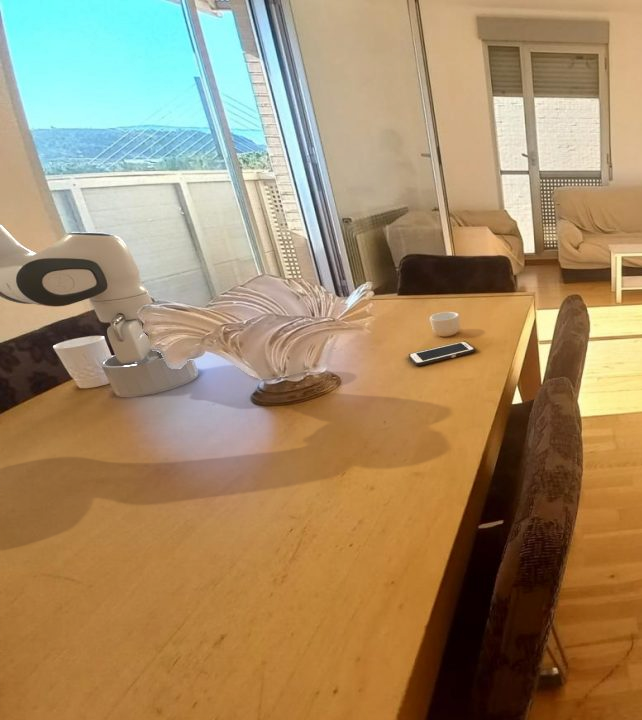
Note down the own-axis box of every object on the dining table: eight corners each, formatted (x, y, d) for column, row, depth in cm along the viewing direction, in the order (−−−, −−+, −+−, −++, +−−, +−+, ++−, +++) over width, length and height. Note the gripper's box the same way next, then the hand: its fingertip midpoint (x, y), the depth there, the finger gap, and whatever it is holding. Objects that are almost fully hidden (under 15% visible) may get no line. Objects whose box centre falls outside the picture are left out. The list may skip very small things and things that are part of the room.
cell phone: (408, 357, 117) (407, 354, 117) (465, 343, 125) (465, 340, 125) (416, 367, 112) (415, 363, 111) (476, 352, 120) (476, 348, 119)
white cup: (127, 379, 110) (108, 339, 106) (79, 393, 104) (57, 350, 100) (117, 372, 114) (98, 333, 110) (70, 385, 108) (48, 344, 104)
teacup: (465, 334, 133) (462, 316, 130) (437, 341, 129) (433, 322, 126) (454, 326, 140) (451, 308, 138) (427, 331, 136) (424, 313, 134)
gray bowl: (105, 403, 99) (90, 372, 96) (125, 379, 110) (111, 351, 107) (193, 386, 106) (181, 357, 103) (202, 365, 117) (192, 338, 114)
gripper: (132, 318, 94) (160, 380, 100) (156, 296, 110) (179, 351, 116) (88, 324, 91) (119, 388, 97) (119, 301, 107) (144, 357, 113)
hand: (152, 368), depth 106 cm, fingers closed on toy car, 3 cm apart
